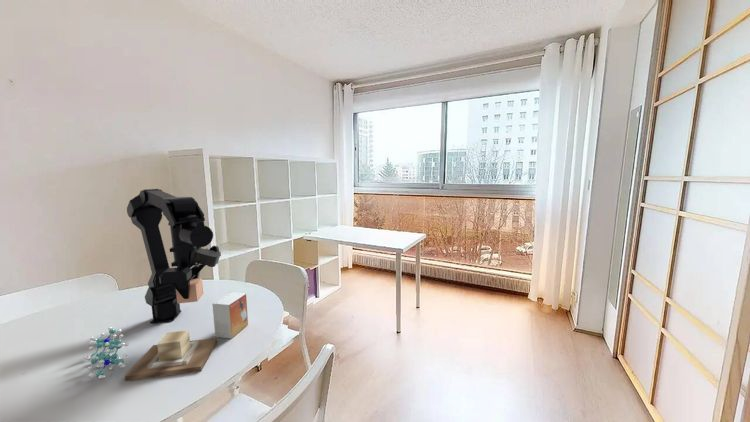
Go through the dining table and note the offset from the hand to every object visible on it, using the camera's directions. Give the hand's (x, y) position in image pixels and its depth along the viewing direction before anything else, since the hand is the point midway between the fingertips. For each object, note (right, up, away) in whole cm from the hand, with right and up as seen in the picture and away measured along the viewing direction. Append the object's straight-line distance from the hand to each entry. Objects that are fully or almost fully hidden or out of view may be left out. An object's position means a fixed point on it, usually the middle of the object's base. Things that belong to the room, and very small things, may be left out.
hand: (190, 294), depth 82 cm
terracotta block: (0, -1, 0) cm, 1 cm away
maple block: (+2, -13, -9) cm, 16 cm away
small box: (+10, -12, +4) cm, 17 cm away
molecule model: (-14, -15, -10) cm, 23 cm away
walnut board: (+2, -14, -9) cm, 17 cm away
